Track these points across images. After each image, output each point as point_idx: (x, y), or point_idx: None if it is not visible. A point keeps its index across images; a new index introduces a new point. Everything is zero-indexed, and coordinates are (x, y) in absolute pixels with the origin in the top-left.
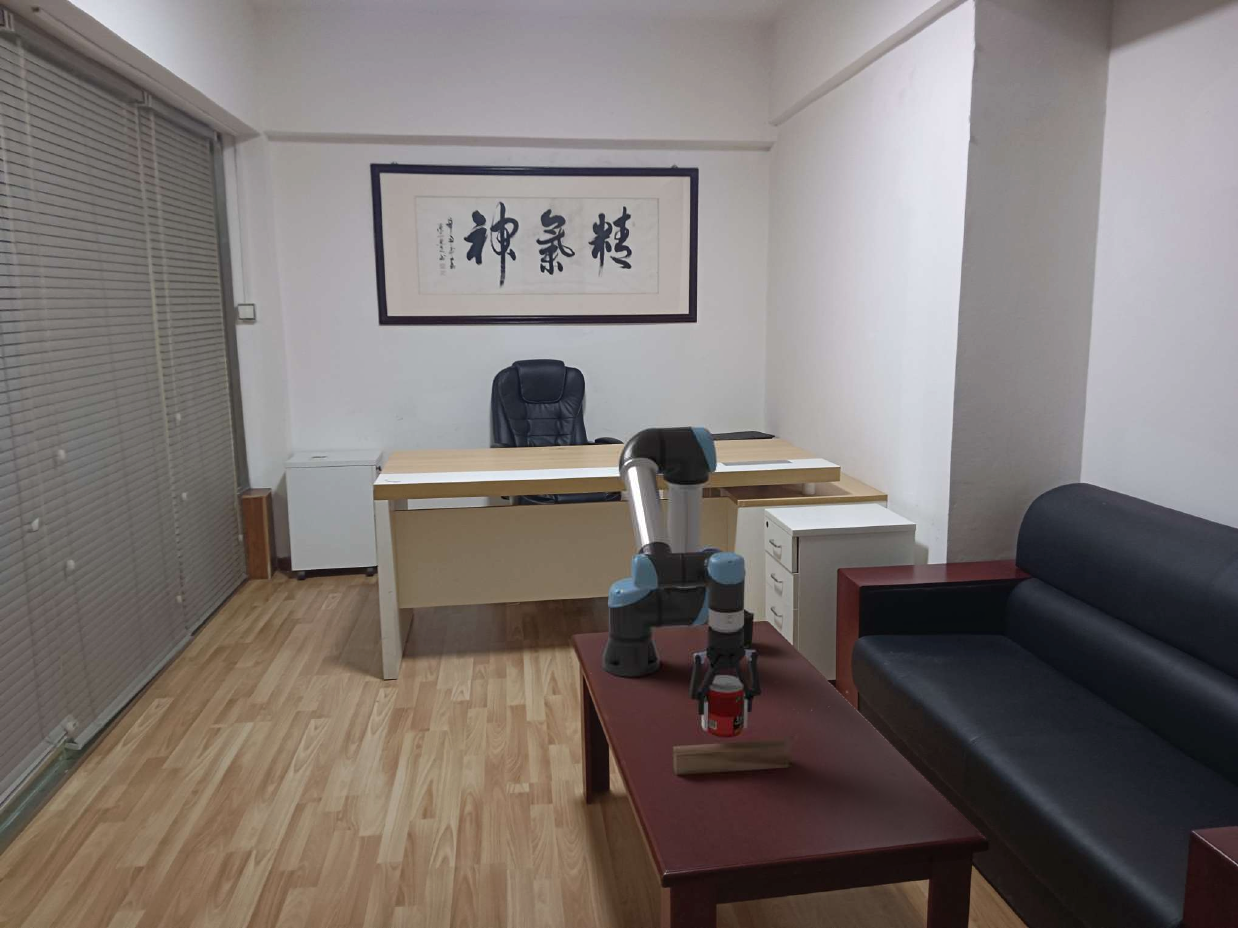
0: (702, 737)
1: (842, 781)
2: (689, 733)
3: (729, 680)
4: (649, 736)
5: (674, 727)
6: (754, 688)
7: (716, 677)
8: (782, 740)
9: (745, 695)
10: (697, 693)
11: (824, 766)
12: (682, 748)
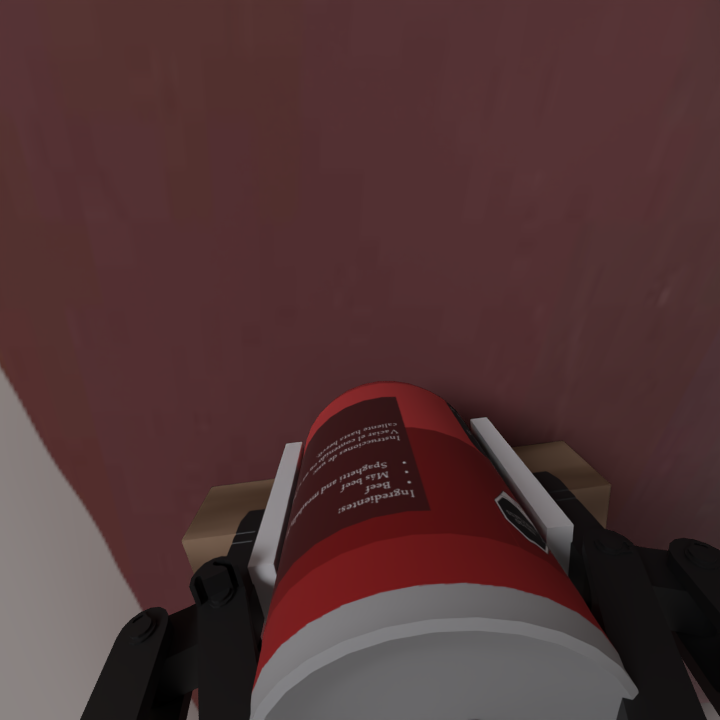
0: (308, 305)
1: (672, 540)
2: (257, 272)
3: (509, 676)
4: (96, 298)
5: (189, 218)
6: (692, 665)
7: (369, 652)
8: (599, 492)
9: (575, 560)
10: (194, 670)
11: (663, 477)
12: (218, 551)
